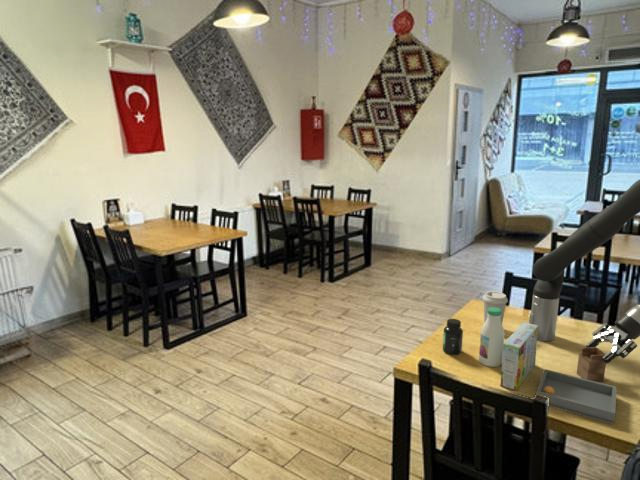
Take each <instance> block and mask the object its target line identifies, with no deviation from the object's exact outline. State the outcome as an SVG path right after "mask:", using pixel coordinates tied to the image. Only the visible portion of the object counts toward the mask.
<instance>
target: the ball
mask: <svg viewBox="0 0 640 480" xmlns="http://www.w3.org/2000/svg"><path fill="white" fill-rule="evenodd" d="M544 392H545V393H549V394H552V395H554V393H555V391H554V389H553V388H552V387H550V386H547V387H545V388H544Z"/></svg>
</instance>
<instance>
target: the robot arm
mask: <svg viewBox="0 0 640 480" xmlns="http://www.w3.org/2000/svg"><path fill="white" fill-rule="evenodd" d="M639 213H640V179H637V181H635V182H634V183H633V184H632V185H630V186H629V188H628V189H626V190H625V192H624V193H622V195H620V196H619V197H618V198H617V199H616V200H615V201H613V202H612V203H611V204H610V205H609V206H606V207H605V208H603V209H602V210H601V211H599V212H598V213H596V214H595V215H594V216H592V217H591V218H589V220H587V221H585V222H584V223H583V224H582V225H580V226H579V227H578V228H577V229H576V230H575V231H574V232H573V233H572V234H570V235H569V236H568V237H567V238H566V239H565V240H564V241H563V242H562V243H561V244H560V245H559V246H557V247H556V248H554V249H553V250H551V251H550V252H549V253H547V254H544V255H543V256H541V257H540V258H538V259H537V260H536V261H535V262H534V264H533V268H532V272H533V275H534V277H535V278H536V279H537V280H536V282H535V285H534V287H533V289H532V290H533V291H532V302H531V310H530V311H531V312H530V314H529V321H528V323H530V324H534V325H538V335H537V341H540V342H551V341H554V340H555V337H556V330H557V329H556V328H557V322H558V321H557V320H558V313H559V303H560V296H561V295H560V294H561V292H562V289H563V284H564V277H565V271H566V270H565V269H567V268H568V267H569V266H570V265H572V264H573V263H574V262H575V261H577V260H579V259H581V258H583V257H585V256H587V255H588V254H590V253H591V252H593V251H595V250H596V249H599V248H600V247H601V246H603V244H605V243H607V242H608V241H609V240H611V239H612V238H613V237H614V236H615V235H616V234H617V233H619V231H620V230H621V229H622V228H623V227H624V226H625V224H626V223H627V222H628V221H629V220H631V219H632V218H633V217H635V216H636V215H638V214H639ZM591 334H592V336H593V338H592V339H591V340H590V341H589V342H587V344H586V346H585V347H597V346H599V345H600V344H602V343H610V344H612V349H611V350H610V351H608V352H607V353H605V354H606V355H605V356H604V357H602V360H603V361H604V362H605V363H606V364H608V363H611V361H613V360H614V359H615V358H616V357H617V358H618V357H620V358H622V359H625V358H626V357H627V356H629V355H630V354H631V353H632V352H633V351H634V350H635V349H636V348H637V347H638V344H637V343H636V342H635V341H634V340H636V339H638V338H639V337H640V301H639V302H638V303H637V304H635V305H634V306H632V307H631V308H629V309H628V310H627V311H626V312H624V314H622V315H621V316H620V317H619V318H618V319H616V320H615V321H614V325H613V326H610V325H609V324H608V323H607V322H604V323H603V324H602V325H601V326H600V327H597V329H596V330H594V331H593V332H592V333H591Z"/></svg>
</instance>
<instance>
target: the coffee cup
mask: <svg viewBox="0 0 640 480" xmlns="http://www.w3.org/2000/svg"><path fill="white" fill-rule="evenodd" d="M482 300H483V320H484V321H483V322H484V323H485V321H486V320H487V317H488V315H487V310H488V308H490V307H495V308H499V309H501V310H502V314H501V317H500V319H501V323H502V324H503V323H504V322H503V321H504V317H505V312H506V306H507V303H508V302H509V301H508V298H507V295H506V294H505V293H503V292H500V291H487V292H485V294H484V295H483V296H482ZM484 323H483V324H484Z"/></svg>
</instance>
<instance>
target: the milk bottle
mask: <svg viewBox="0 0 640 480" xmlns="http://www.w3.org/2000/svg"><path fill="white" fill-rule="evenodd" d="M501 314H502V310H501V309H499V308H495V307H490V308H488V310H487V315H488V317H487V320H486V321H485V323H483V325H482V327H481V332H480V340H479V342H480V343H479V352H478V360H479V362H480V363H481V364H482V365H483V366H486V367H490V368H497V367H500V366H502V357H503V344H504V343H505V328H504V326H503V322H502V323H501V319H500V317H501Z"/></svg>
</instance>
